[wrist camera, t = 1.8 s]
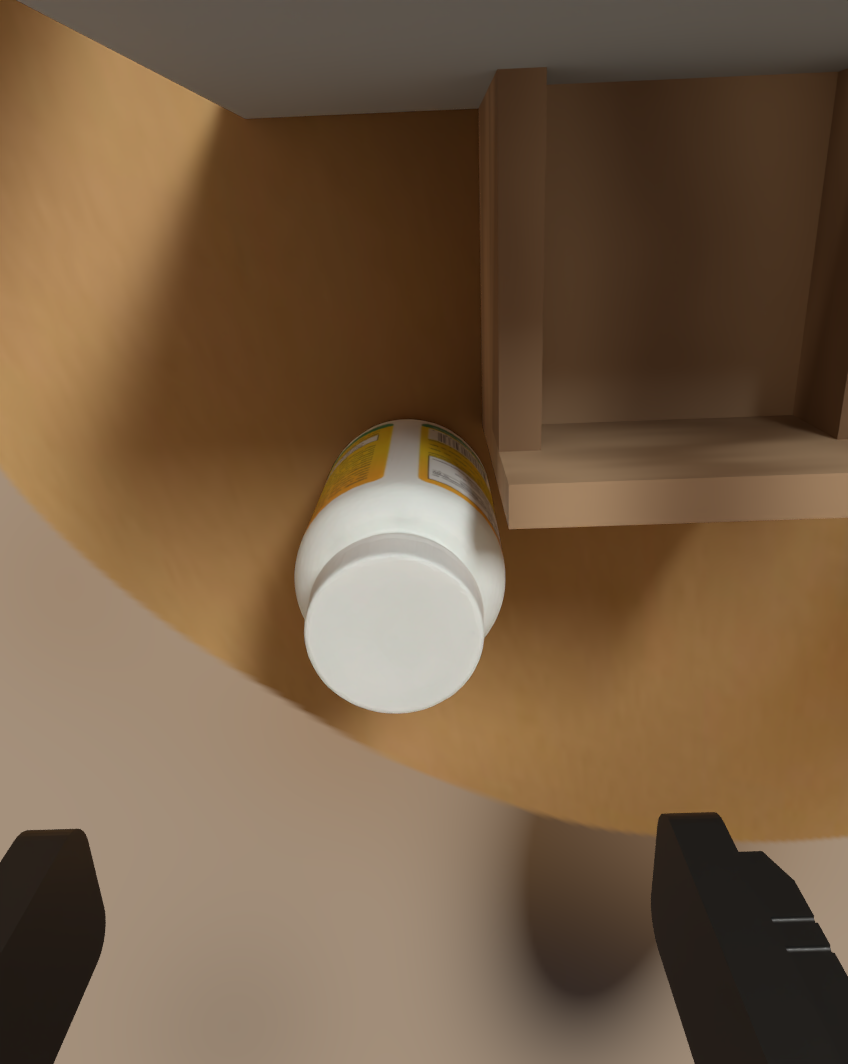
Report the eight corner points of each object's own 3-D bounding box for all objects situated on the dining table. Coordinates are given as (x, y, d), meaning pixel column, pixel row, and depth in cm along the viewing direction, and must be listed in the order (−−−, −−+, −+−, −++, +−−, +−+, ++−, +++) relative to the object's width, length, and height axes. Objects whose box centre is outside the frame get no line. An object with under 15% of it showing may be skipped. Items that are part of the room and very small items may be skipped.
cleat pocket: (805, 94, 22) (1036, 20, 14) (766, 415, 25) (933, 514, 17) (478, 108, 22) (508, 44, 14) (482, 425, 26) (508, 529, 17)
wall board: (1059, 19, 21) (2042, -283, 8) (1045, 83, 22) (1946, -107, 9) (238, 56, 22) (-43, -175, 9) (244, 118, 22) (-11, -15, 9)
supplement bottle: (493, 417, 25) (529, 527, 17) (484, 571, 27) (511, 744, 19) (324, 413, 25) (267, 520, 17) (327, 567, 27) (278, 737, 18)
